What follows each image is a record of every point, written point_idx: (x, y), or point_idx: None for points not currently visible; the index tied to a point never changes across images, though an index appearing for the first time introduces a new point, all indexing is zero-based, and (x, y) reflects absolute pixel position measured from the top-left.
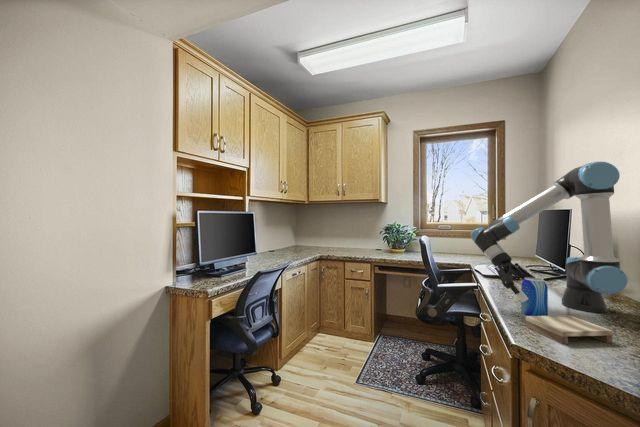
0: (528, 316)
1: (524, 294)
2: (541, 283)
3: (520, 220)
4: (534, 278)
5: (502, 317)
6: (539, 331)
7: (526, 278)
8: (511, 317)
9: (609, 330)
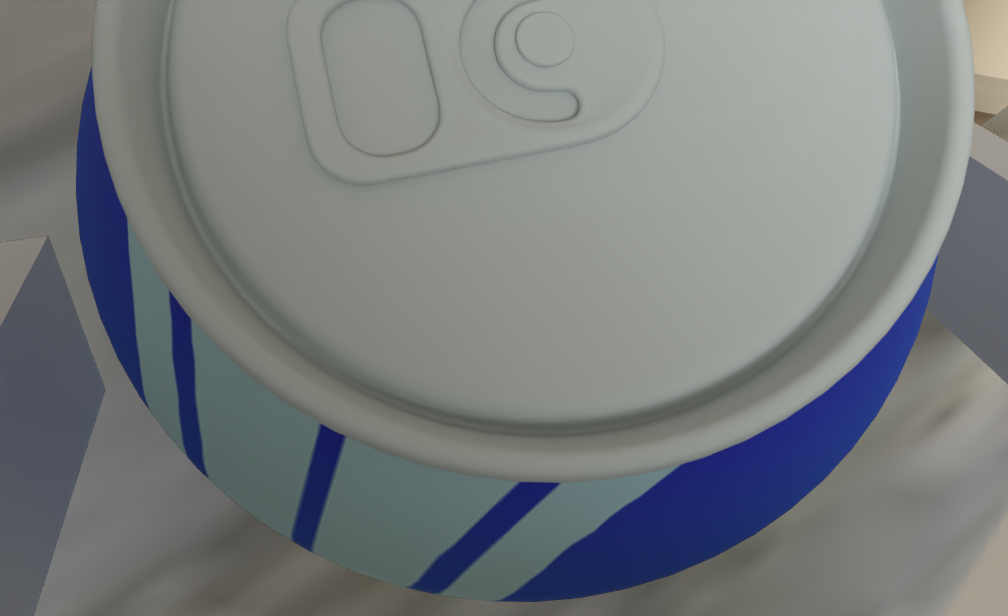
0: (1001, 63)
1: (1001, 160)
2: None
3: None
4: (195, 255)
5: (973, 546)
6: None
7: (584, 438)
8: (817, 510)
9: None
